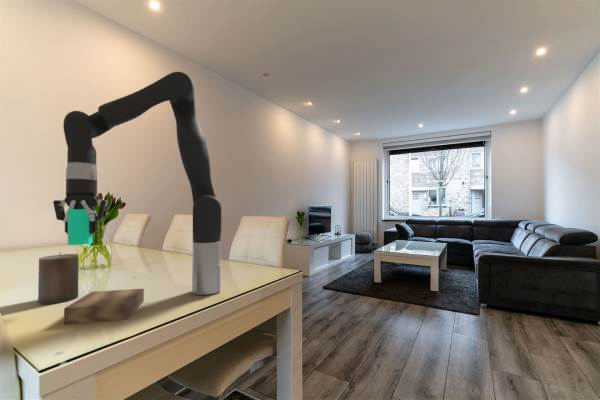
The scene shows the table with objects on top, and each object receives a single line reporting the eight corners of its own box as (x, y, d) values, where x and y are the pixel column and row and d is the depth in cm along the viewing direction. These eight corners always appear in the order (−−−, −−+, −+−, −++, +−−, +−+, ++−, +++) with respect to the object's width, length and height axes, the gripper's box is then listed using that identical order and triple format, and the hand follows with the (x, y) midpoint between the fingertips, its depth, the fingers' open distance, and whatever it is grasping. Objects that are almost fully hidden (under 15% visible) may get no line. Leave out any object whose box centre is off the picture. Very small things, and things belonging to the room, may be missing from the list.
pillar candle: (84, 297, 90) (85, 250, 91) (47, 306, 81) (48, 255, 82) (68, 293, 94) (69, 249, 95) (30, 302, 85) (32, 253, 86)
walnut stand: (143, 301, 85) (143, 288, 86) (127, 319, 72) (127, 303, 72) (91, 305, 82) (91, 291, 82) (63, 324, 68) (64, 308, 69)
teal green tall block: (78, 245, 80) (79, 204, 81) (62, 244, 82) (62, 204, 82) (97, 242, 86) (98, 204, 87) (81, 242, 88) (82, 204, 88)
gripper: (113, 180, 90) (113, 232, 90) (61, 179, 87) (61, 233, 86) (103, 177, 83) (102, 234, 82) (46, 177, 79) (45, 236, 79)
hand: (81, 233), depth 84 cm, fingers closed on teal green tall block, 5 cm apart
